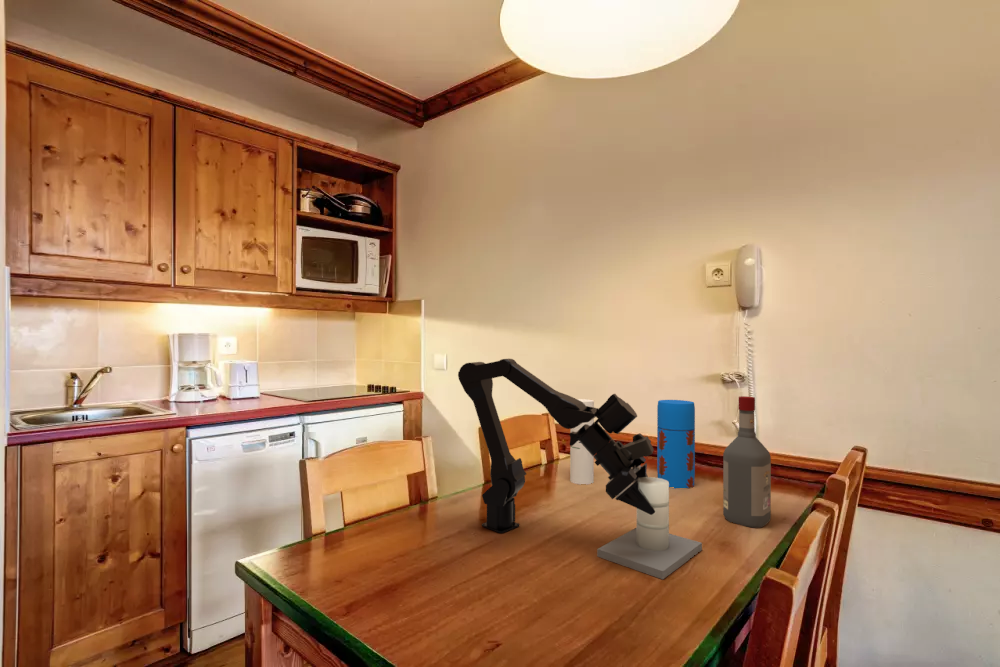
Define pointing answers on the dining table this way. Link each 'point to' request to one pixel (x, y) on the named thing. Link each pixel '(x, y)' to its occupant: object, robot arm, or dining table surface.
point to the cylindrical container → (581, 456)
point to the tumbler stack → (654, 515)
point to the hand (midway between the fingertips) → (655, 506)
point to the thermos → (676, 442)
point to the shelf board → (649, 554)
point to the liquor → (747, 473)
